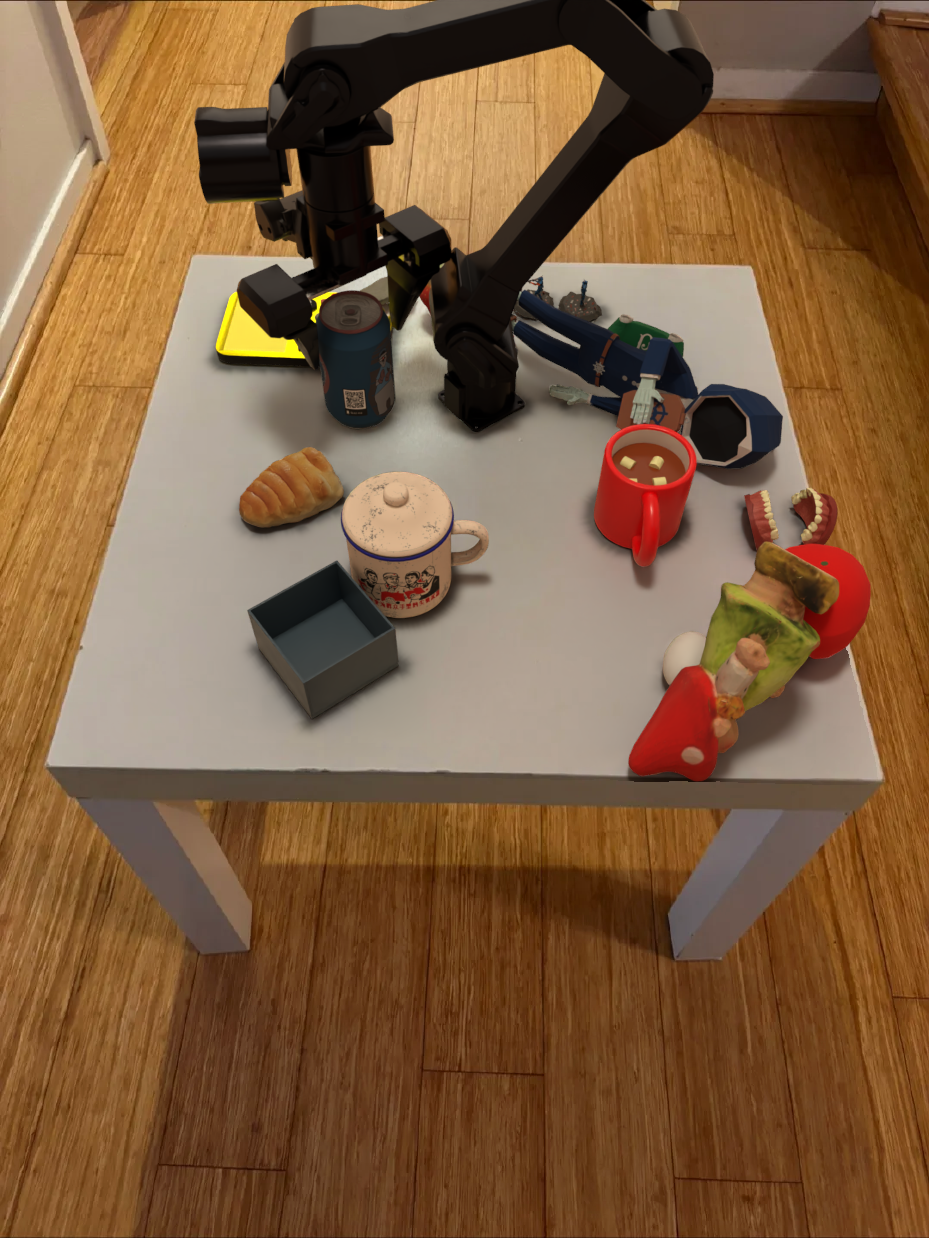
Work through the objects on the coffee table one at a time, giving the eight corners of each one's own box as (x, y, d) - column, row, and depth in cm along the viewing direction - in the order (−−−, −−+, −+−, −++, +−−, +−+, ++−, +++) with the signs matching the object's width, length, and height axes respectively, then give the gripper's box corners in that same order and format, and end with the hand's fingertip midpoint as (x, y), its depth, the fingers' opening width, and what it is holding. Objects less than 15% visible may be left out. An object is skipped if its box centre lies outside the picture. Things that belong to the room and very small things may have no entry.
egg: (715, 653, 82) (726, 627, 78) (695, 711, 78) (706, 686, 75) (671, 638, 82) (679, 611, 79) (650, 694, 79) (658, 669, 76)
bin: (343, 599, 84) (336, 560, 80) (398, 665, 81) (395, 628, 76) (258, 648, 82) (246, 610, 77) (311, 719, 78) (303, 683, 73)
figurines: (603, 295, 108) (609, 265, 104) (601, 328, 106) (607, 298, 102) (512, 287, 108) (515, 256, 104) (509, 319, 106) (512, 289, 102)
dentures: (744, 474, 87) (833, 476, 88) (732, 504, 91) (818, 505, 91) (754, 524, 84) (846, 525, 85) (741, 553, 88) (829, 554, 88)
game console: (214, 365, 101) (211, 354, 100) (231, 297, 107) (229, 286, 106) (388, 369, 101) (388, 358, 100) (395, 301, 107) (395, 289, 106)
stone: (425, 297, 105) (399, 284, 108) (422, 279, 104) (397, 266, 107) (322, 335, 100) (299, 320, 103) (319, 316, 99) (295, 302, 102)
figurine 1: (473, 275, 89) (761, 434, 80) (550, 226, 96) (824, 367, 87) (459, 378, 98) (716, 531, 89) (530, 326, 105) (776, 464, 96)
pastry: (264, 548, 88) (257, 520, 84) (225, 504, 91) (217, 475, 88) (351, 499, 91) (347, 470, 88) (310, 458, 94) (305, 429, 91)
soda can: (330, 384, 100) (316, 284, 90) (398, 386, 100) (392, 286, 90) (322, 433, 96) (307, 334, 86) (393, 435, 96) (386, 336, 86)
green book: (671, 399, 102) (696, 344, 100) (664, 394, 98) (690, 337, 97) (592, 367, 104) (616, 313, 103) (583, 361, 101) (607, 305, 99)
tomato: (814, 619, 72) (806, 697, 78) (910, 558, 75) (896, 638, 81) (723, 562, 78) (722, 638, 84) (815, 508, 82) (808, 585, 87)
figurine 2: (873, 601, 73) (723, 817, 77) (775, 546, 78) (639, 752, 81) (841, 574, 64) (673, 820, 68) (733, 513, 68) (581, 746, 72)
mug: (599, 586, 85) (611, 527, 79) (591, 483, 92) (601, 422, 86) (690, 587, 85) (709, 529, 79) (674, 484, 92) (691, 423, 86)
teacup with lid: (348, 624, 83) (334, 536, 73) (351, 541, 88) (338, 448, 79) (489, 619, 83) (494, 531, 74) (484, 537, 89) (487, 445, 79)
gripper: (378, 113, 85) (389, 267, 98) (186, 186, 79) (225, 341, 92) (454, 170, 80) (455, 325, 93) (256, 253, 74) (287, 407, 87)
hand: (355, 347), depth 91 cm, fingers open, 9 cm apart
